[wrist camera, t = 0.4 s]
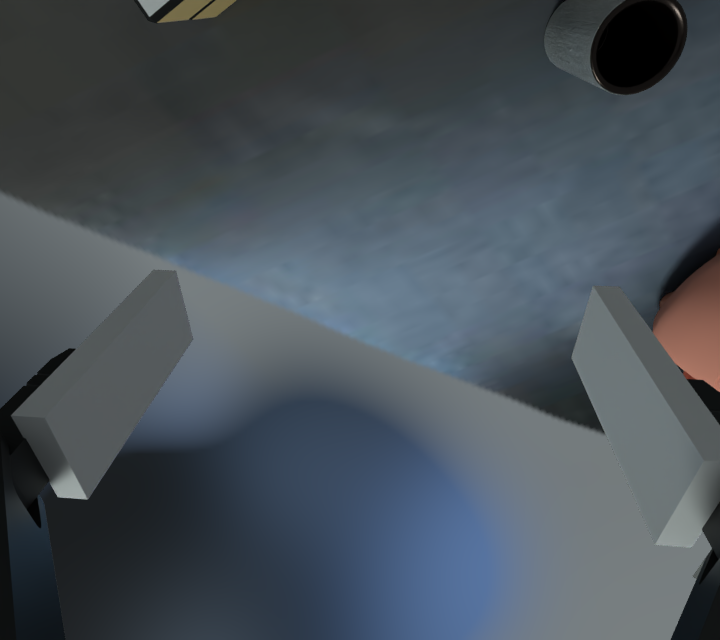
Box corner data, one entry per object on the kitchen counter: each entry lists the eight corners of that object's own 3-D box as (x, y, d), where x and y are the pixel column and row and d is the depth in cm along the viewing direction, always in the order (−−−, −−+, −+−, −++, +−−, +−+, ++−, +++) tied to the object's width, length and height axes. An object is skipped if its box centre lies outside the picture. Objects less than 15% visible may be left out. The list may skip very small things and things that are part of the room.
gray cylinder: (540, 6, 32) (587, 10, 23) (613, -19, 30) (692, -25, 22) (546, 79, 34) (591, 106, 25) (614, 58, 33) (685, 80, 24)
